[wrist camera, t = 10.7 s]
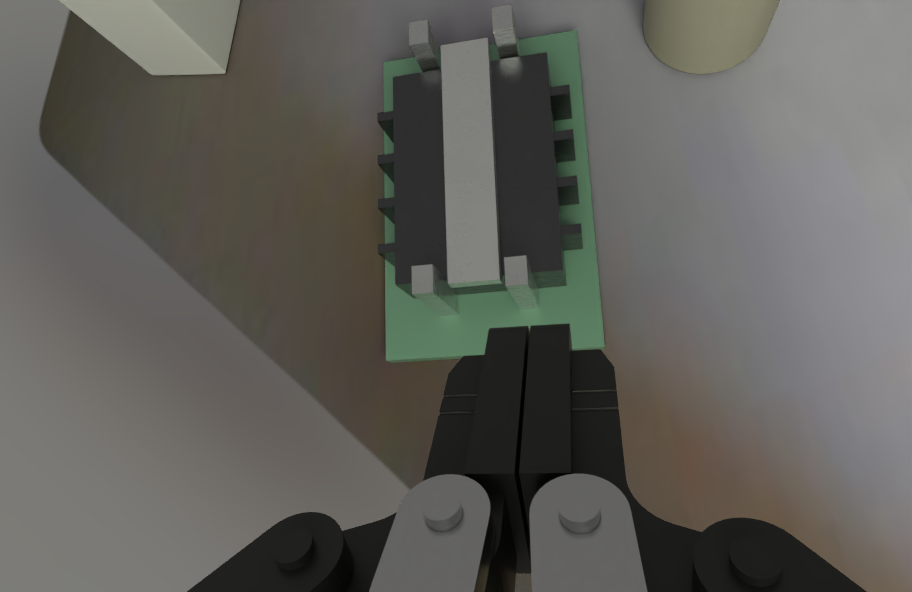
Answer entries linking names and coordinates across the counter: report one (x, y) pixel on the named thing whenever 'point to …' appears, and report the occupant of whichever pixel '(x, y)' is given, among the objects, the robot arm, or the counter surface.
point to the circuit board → (454, 336)
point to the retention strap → (470, 165)
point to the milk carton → (166, 32)
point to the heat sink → (518, 173)
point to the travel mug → (706, 32)
